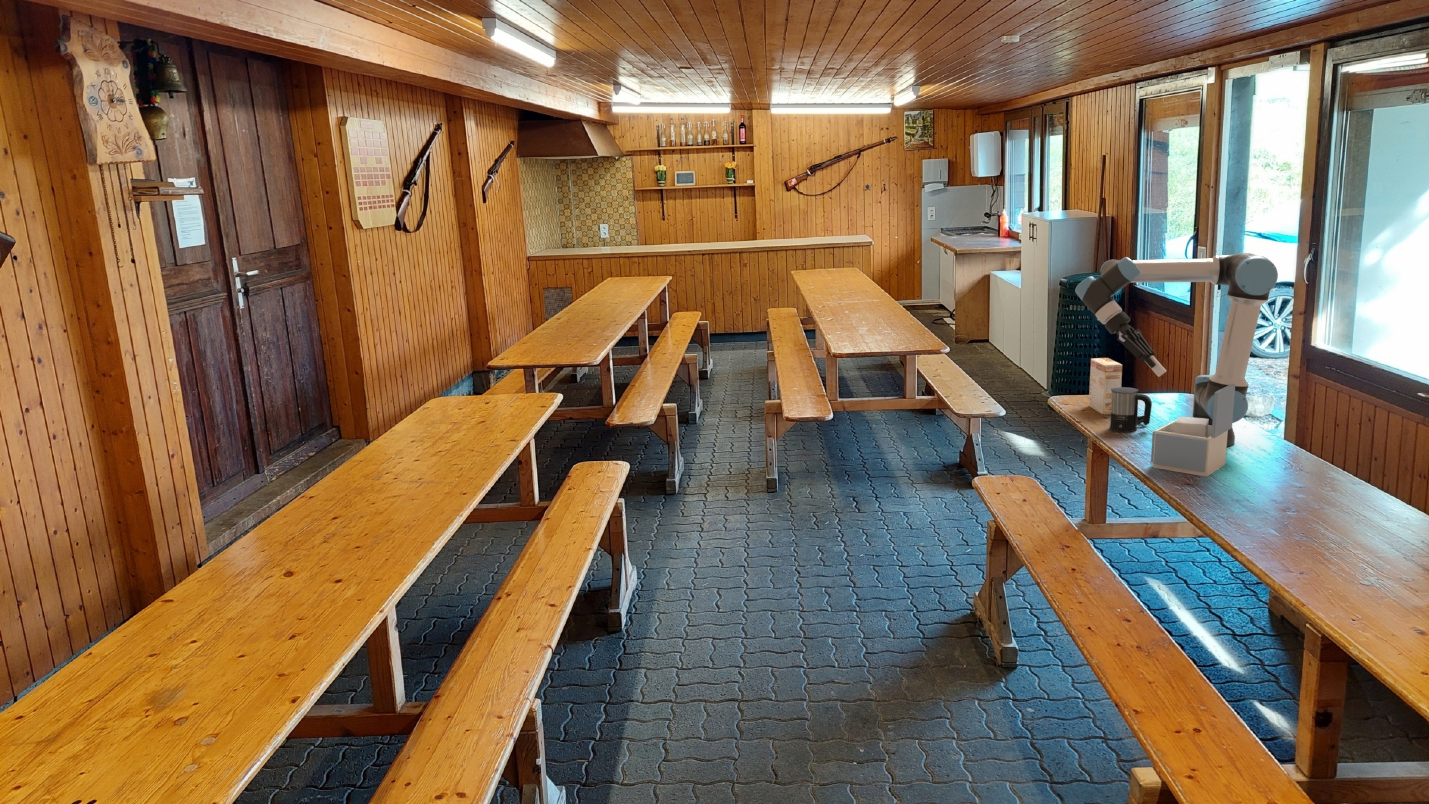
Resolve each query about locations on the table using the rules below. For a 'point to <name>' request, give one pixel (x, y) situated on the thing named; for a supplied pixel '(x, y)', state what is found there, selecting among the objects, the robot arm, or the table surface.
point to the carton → (1188, 451)
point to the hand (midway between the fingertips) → (1162, 373)
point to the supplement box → (1192, 426)
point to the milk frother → (1128, 409)
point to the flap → (1223, 410)
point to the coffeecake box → (1103, 383)
